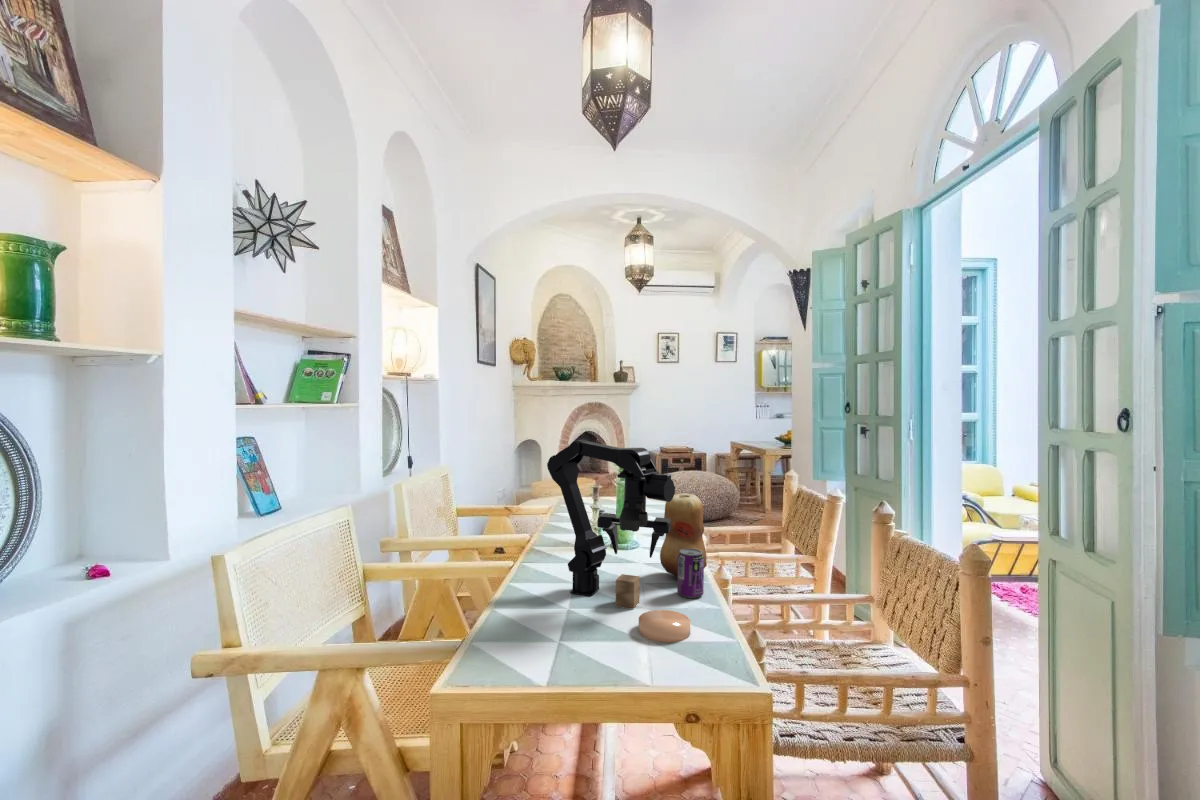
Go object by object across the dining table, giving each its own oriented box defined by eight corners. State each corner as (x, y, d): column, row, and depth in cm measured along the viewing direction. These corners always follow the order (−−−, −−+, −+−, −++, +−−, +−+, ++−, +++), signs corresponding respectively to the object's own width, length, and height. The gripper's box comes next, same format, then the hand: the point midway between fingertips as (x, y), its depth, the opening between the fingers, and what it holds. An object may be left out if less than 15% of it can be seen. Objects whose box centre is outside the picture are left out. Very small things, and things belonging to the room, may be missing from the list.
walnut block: (615, 606, 149) (615, 579, 149) (621, 600, 154) (621, 574, 154) (634, 609, 148) (634, 582, 148) (639, 602, 152) (639, 576, 152)
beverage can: (703, 600, 154) (703, 555, 154) (676, 598, 156) (676, 554, 155) (703, 591, 161) (704, 548, 161) (678, 589, 163) (678, 547, 162)
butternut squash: (658, 583, 168) (659, 497, 167) (660, 569, 181) (661, 489, 181) (707, 586, 166) (708, 499, 165) (705, 571, 179) (706, 491, 178)
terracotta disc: (632, 638, 131) (632, 625, 131) (646, 619, 142) (646, 607, 142) (684, 647, 127) (684, 633, 127) (694, 626, 138) (694, 614, 138)
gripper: (592, 499, 145) (590, 560, 145) (666, 505, 140) (664, 568, 141) (603, 491, 156) (601, 548, 156) (672, 496, 151) (670, 555, 152)
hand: (633, 555), depth 151 cm, fingers open, 9 cm apart
